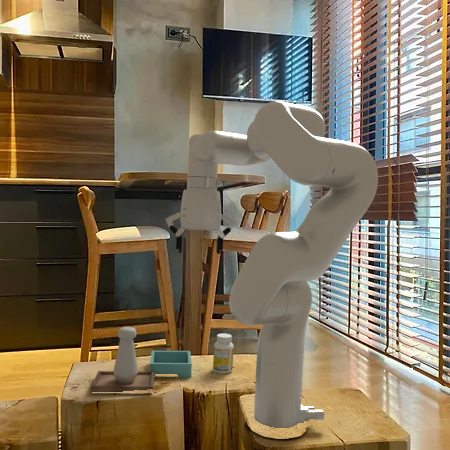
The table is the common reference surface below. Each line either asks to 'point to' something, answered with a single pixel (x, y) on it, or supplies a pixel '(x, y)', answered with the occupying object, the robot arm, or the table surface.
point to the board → (108, 383)
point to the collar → (171, 362)
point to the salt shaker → (126, 357)
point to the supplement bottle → (223, 354)
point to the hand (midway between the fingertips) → (199, 252)
